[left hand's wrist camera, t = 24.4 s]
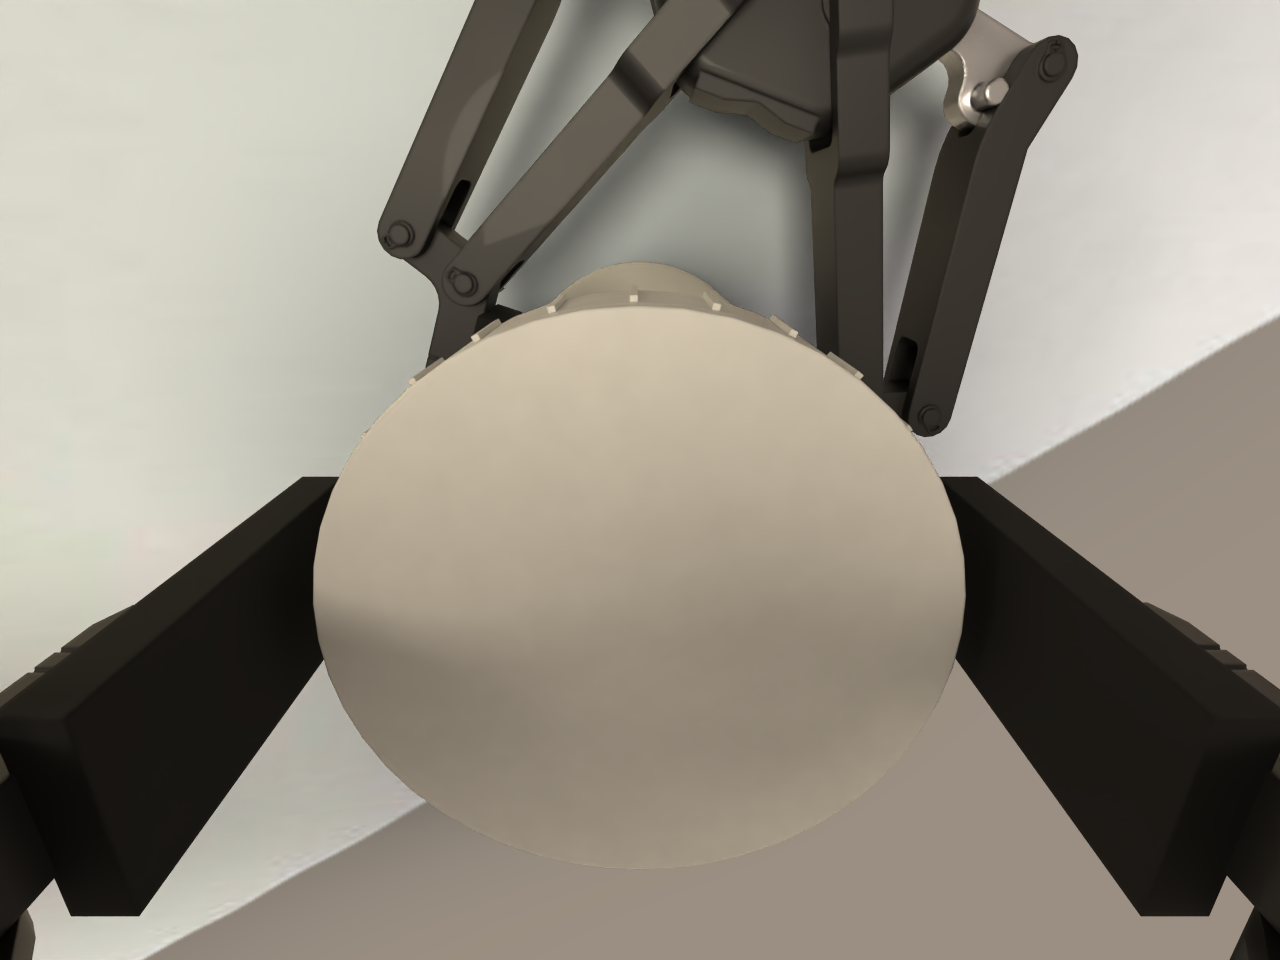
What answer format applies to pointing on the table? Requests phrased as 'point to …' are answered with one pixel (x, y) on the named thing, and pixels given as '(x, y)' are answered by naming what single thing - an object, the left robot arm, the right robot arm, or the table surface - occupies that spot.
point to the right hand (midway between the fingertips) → (594, 556)
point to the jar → (640, 281)
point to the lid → (639, 583)
